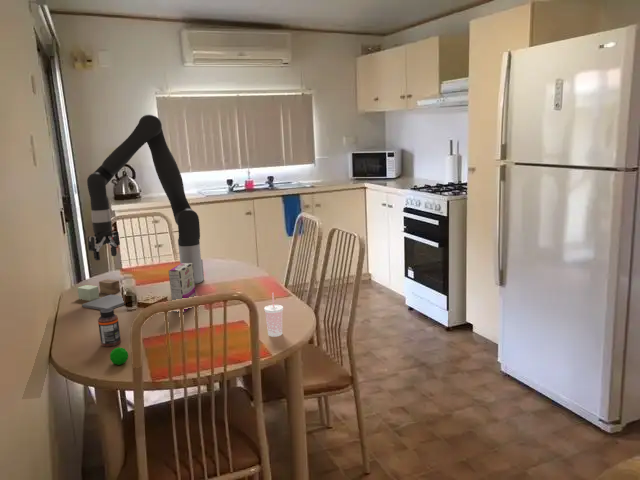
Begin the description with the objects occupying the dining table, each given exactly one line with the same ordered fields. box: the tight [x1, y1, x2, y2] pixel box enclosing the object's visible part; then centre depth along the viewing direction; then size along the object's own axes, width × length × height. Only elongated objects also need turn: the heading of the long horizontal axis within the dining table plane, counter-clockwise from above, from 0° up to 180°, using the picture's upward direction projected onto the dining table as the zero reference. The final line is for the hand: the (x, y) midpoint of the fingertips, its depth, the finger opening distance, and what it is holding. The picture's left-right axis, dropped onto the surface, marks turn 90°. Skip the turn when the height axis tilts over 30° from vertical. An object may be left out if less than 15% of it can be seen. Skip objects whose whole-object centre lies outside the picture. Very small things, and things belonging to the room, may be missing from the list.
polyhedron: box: [109, 347, 129, 366], centre depth 155 cm, size 5×5×5 cm
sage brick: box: [77, 284, 100, 302], centre depth 220 cm, size 4×7×5 cm, turn 62°
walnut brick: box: [98, 278, 121, 295], centre depth 228 cm, size 4×7×5 cm, turn 62°
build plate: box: [81, 294, 124, 311], centre depth 213 cm, size 14×14×1 cm
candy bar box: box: [168, 263, 197, 313], centre depth 202 cm, size 11×5×16 cm, turn 168°
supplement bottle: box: [97, 308, 122, 347], centre depth 169 cm, size 6×6×11 cm
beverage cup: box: [263, 292, 284, 338], centre depth 172 cm, size 6×6×14 cm
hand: (105, 258), depth 226 cm, fingers open, 8 cm apart
